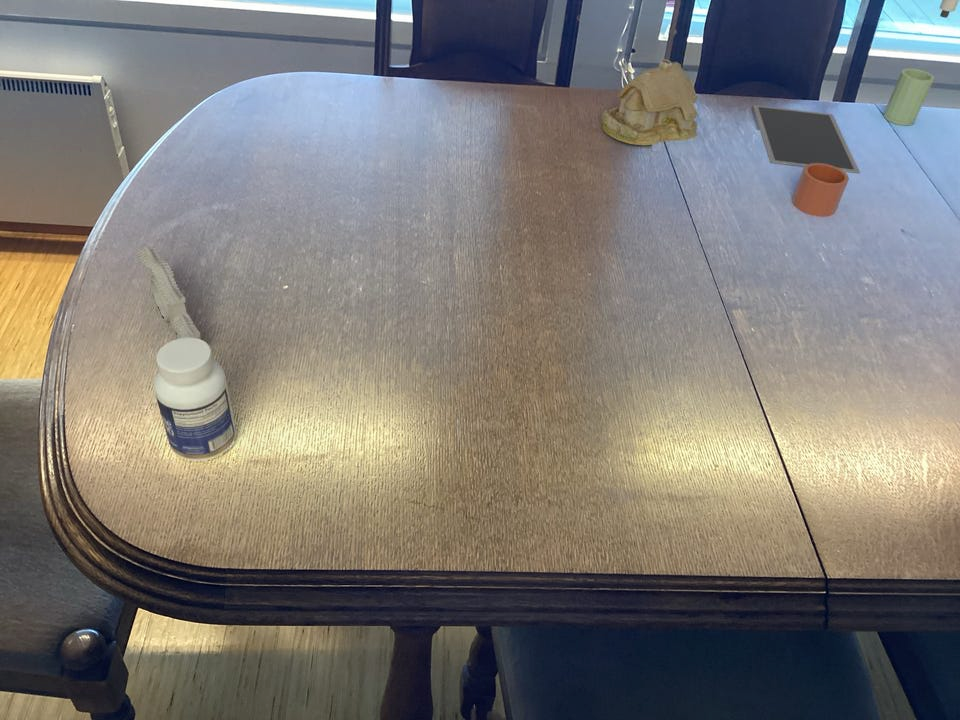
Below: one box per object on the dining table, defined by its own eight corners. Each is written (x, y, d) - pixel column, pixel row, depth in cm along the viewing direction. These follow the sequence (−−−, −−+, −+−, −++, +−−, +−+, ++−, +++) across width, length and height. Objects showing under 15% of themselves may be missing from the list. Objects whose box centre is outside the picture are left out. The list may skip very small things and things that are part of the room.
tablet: (830, 119, 124) (832, 113, 124) (857, 177, 111) (860, 171, 110) (751, 109, 125) (753, 104, 124) (768, 166, 112) (770, 161, 111)
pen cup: (909, 114, 128) (929, 70, 123) (917, 127, 124) (938, 82, 120) (879, 110, 128) (898, 66, 123) (887, 123, 125) (906, 79, 120)
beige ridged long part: (206, 356, 76) (196, 306, 72) (187, 363, 75) (175, 313, 71) (165, 287, 83) (153, 238, 79) (147, 292, 82) (134, 243, 78)
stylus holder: (829, 200, 106) (843, 165, 102) (838, 222, 102) (853, 187, 98) (787, 195, 106) (800, 160, 103) (794, 217, 102) (808, 182, 99)
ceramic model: (657, 104, 124) (672, 38, 117) (712, 135, 117) (731, 67, 111) (587, 124, 117) (598, 55, 111) (641, 158, 111) (657, 86, 104)
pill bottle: (171, 421, 70) (148, 334, 63) (236, 414, 71) (220, 327, 64) (168, 469, 66) (143, 381, 59) (237, 460, 67) (220, 374, 60)
